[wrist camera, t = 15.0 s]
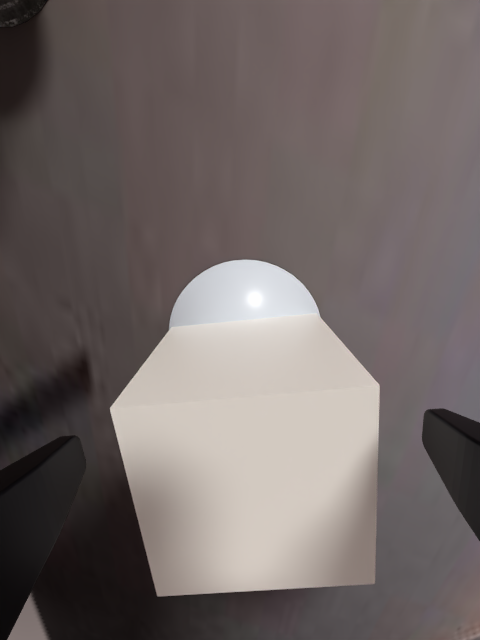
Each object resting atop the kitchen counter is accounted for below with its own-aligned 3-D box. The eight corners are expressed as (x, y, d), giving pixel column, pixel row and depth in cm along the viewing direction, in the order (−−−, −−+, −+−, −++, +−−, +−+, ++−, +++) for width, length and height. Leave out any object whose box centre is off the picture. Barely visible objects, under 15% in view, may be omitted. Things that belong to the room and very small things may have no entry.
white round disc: (294, 417, 18) (295, 419, 17) (157, 384, 17) (156, 386, 17) (342, 282, 15) (344, 283, 15) (186, 241, 15) (185, 241, 15)
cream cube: (320, 436, 18) (374, 584, 10) (193, 446, 18) (157, 596, 11) (315, 312, 16) (379, 385, 8) (172, 326, 16) (109, 408, 9)
